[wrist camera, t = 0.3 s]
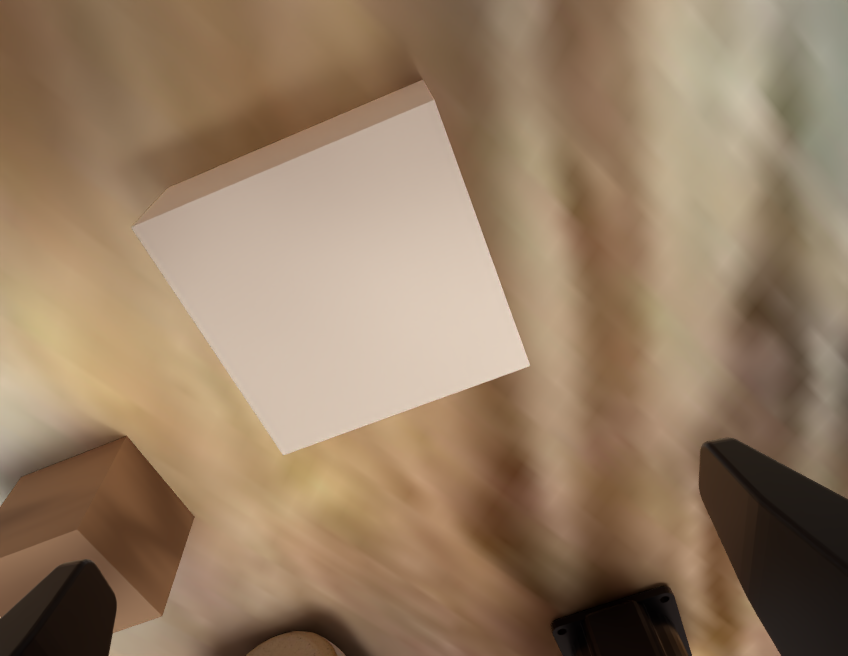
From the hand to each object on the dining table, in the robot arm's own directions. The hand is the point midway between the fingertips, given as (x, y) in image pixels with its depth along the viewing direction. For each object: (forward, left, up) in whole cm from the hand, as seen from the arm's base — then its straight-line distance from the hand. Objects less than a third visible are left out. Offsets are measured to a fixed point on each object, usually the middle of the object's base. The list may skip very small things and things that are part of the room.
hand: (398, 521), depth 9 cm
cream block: (-1, +2, -14) cm, 15 cm away
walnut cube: (-7, +16, -14) cm, 22 cm away
